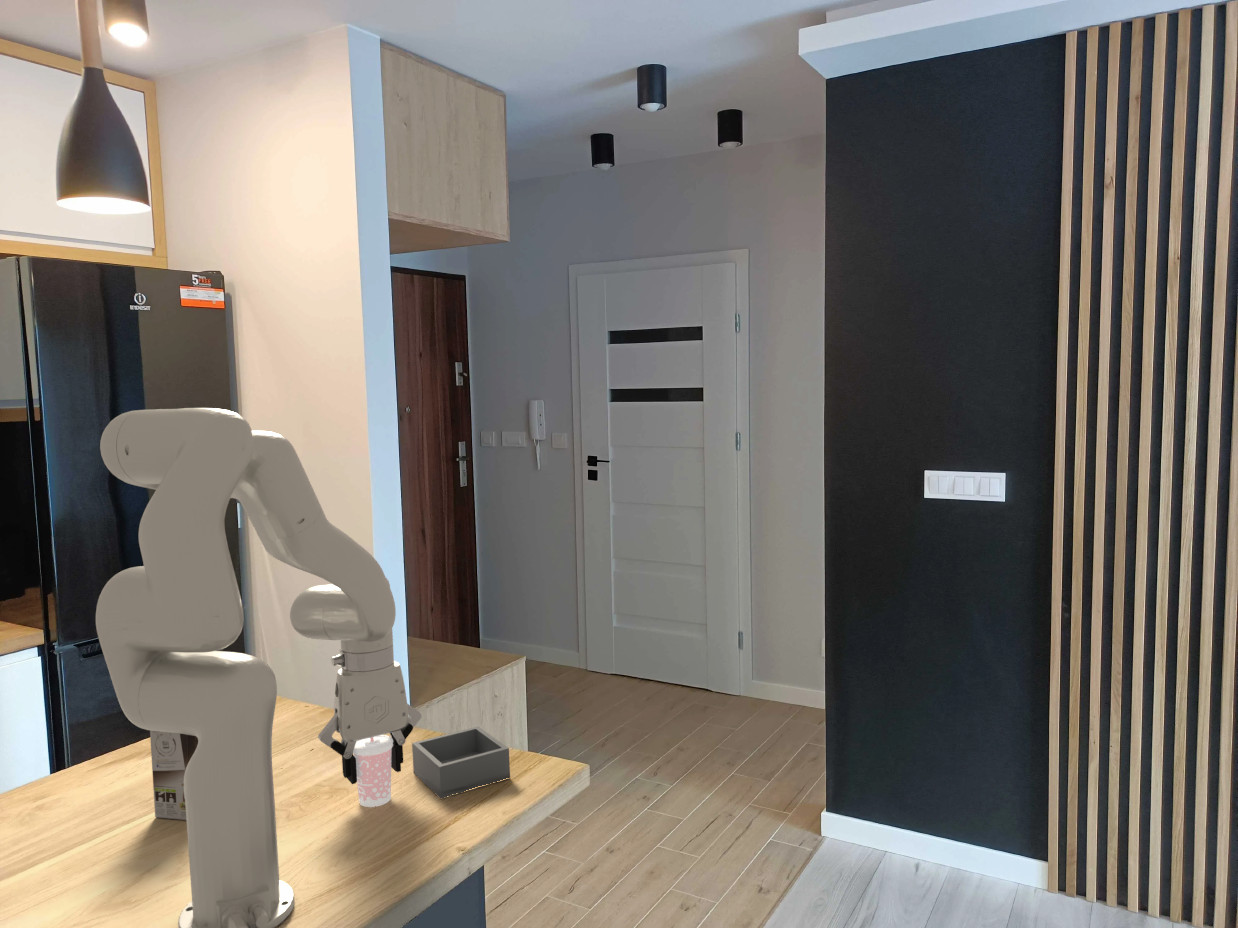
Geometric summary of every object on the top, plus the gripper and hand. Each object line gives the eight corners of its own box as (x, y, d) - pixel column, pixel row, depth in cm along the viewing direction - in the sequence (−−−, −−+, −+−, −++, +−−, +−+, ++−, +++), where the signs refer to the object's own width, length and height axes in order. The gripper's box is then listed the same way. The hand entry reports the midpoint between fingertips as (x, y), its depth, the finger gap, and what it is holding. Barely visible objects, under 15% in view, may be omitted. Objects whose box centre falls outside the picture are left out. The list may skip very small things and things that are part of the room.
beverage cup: (348, 798, 134) (343, 709, 133) (386, 786, 138) (381, 699, 137) (363, 813, 130) (358, 720, 128) (402, 800, 133) (398, 710, 132)
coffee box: (192, 821, 129) (184, 713, 127) (153, 818, 130) (145, 711, 129) (231, 793, 138) (225, 692, 136) (195, 790, 139) (188, 690, 138)
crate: (510, 778, 140) (508, 748, 139) (440, 798, 133) (439, 766, 133) (479, 754, 150) (478, 726, 149) (413, 772, 143) (412, 742, 143)
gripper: (315, 675, 124) (322, 799, 126) (432, 653, 134) (437, 768, 135) (302, 663, 130) (308, 780, 132) (414, 642, 140) (419, 752, 141)
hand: (373, 773), depth 134 cm, fingers closed on beverage cup, 6 cm apart
